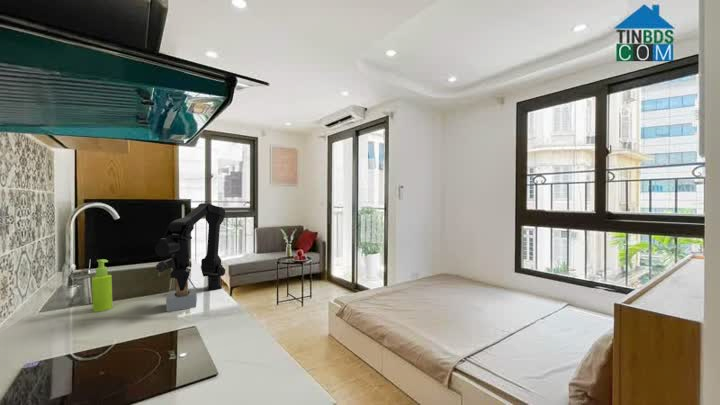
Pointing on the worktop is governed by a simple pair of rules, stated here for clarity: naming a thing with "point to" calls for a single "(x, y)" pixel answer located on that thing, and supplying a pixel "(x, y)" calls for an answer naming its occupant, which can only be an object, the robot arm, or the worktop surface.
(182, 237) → the robot arm
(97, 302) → the soap dispenser
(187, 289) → the tan rectangular block
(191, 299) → the grey square socket block
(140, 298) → the worktop surface
